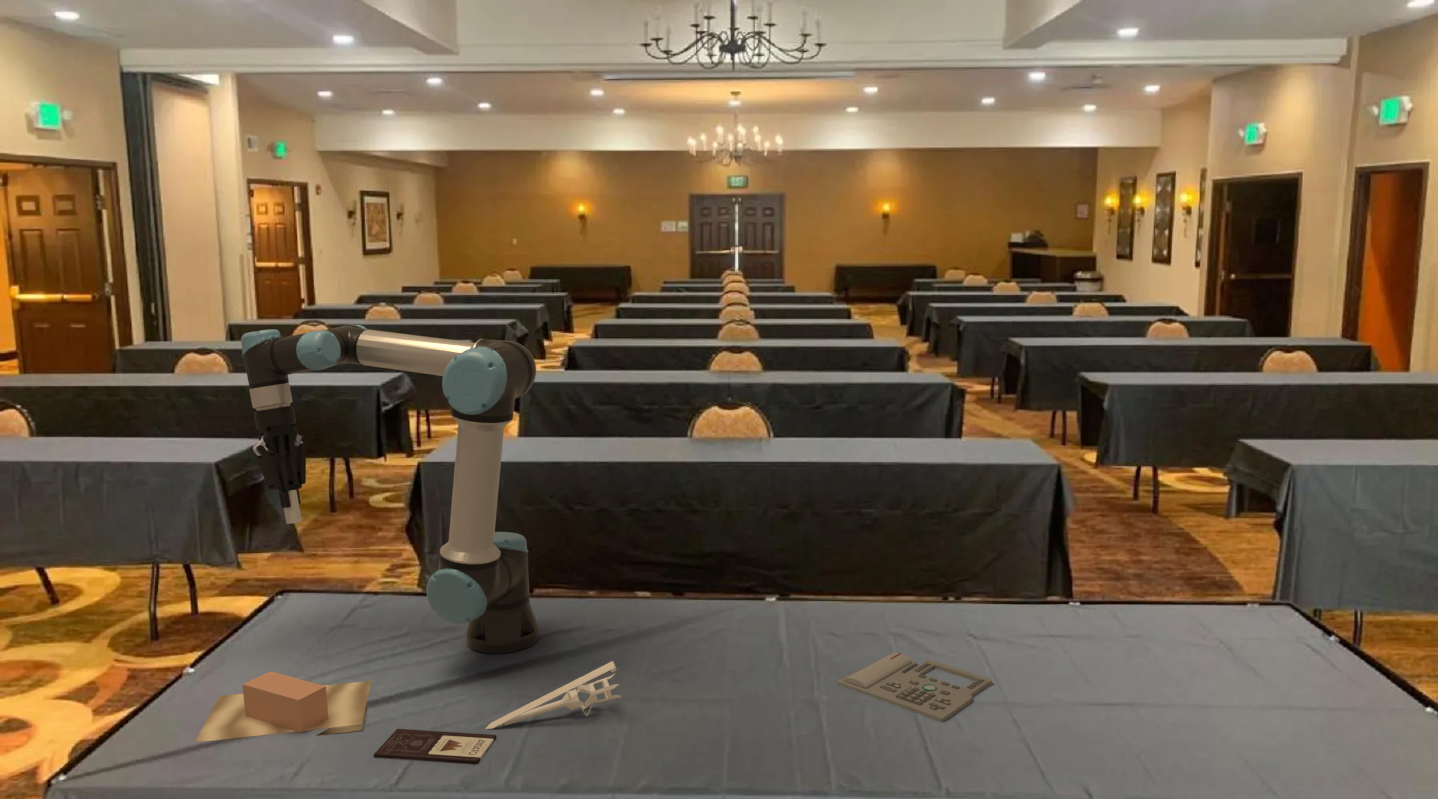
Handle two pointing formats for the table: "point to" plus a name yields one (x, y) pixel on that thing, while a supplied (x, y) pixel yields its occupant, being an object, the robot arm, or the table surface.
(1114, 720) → the table surface
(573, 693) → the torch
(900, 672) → the office telephone
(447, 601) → the robot arm
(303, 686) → the terracotta block
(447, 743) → the chocolate bar
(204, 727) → the birch board
